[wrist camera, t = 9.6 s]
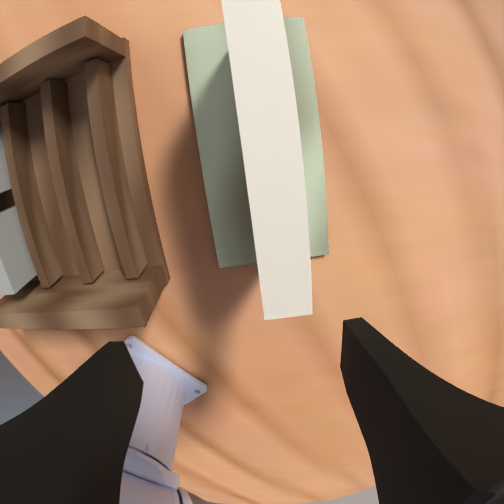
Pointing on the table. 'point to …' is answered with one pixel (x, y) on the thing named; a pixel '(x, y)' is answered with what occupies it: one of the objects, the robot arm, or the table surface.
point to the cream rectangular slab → (271, 153)
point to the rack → (124, 172)
